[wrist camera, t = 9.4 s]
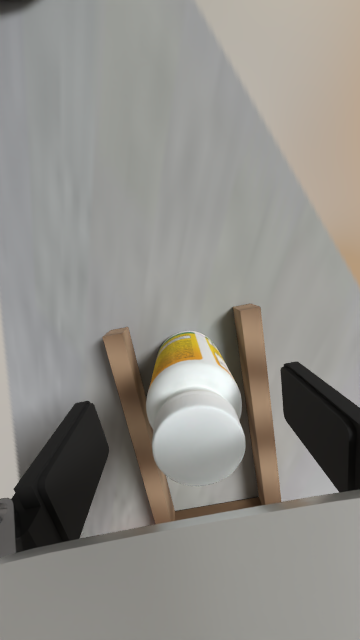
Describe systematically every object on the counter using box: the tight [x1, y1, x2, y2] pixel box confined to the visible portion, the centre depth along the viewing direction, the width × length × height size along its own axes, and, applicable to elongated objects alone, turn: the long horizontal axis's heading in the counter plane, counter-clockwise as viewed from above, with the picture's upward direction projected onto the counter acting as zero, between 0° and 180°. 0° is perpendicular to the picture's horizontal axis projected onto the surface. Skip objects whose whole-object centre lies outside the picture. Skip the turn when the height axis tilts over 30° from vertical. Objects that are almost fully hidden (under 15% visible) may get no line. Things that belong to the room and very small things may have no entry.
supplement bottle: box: [146, 331, 246, 486], centre depth 13 cm, size 5×5×10 cm
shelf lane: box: [103, 304, 281, 524], centre depth 18 cm, size 22×12×3 cm, turn 11°
